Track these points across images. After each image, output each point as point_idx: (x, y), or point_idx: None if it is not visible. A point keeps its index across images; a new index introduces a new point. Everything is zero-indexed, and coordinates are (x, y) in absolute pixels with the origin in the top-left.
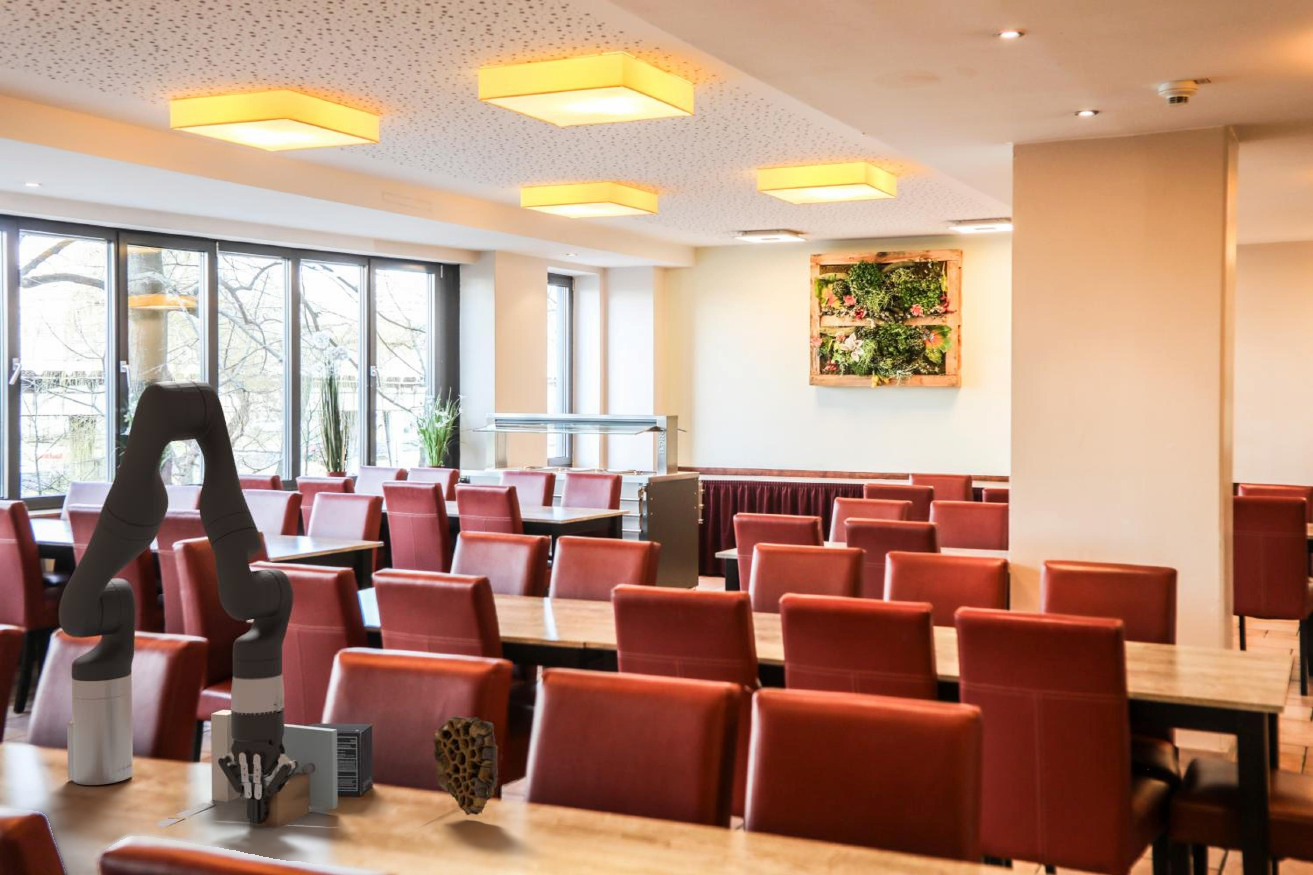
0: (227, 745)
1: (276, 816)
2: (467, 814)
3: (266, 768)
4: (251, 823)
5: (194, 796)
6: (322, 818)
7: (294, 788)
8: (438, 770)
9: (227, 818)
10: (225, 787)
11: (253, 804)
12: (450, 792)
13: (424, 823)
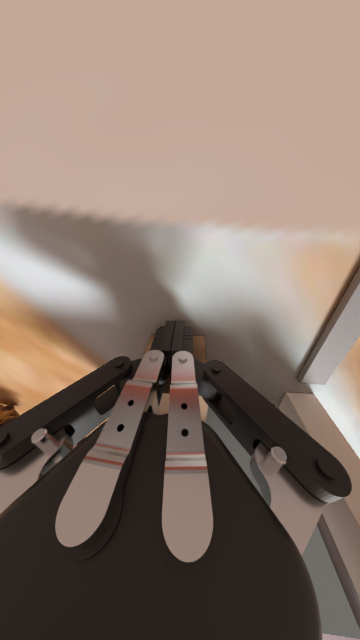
0: (354, 518)
1: (149, 345)
2: (11, 404)
3: (92, 437)
4: (200, 336)
5: (348, 402)
6: None
7: None
8: None
9: (256, 350)
10: (302, 414)
11: (172, 343)
12: None
13: (18, 382)
